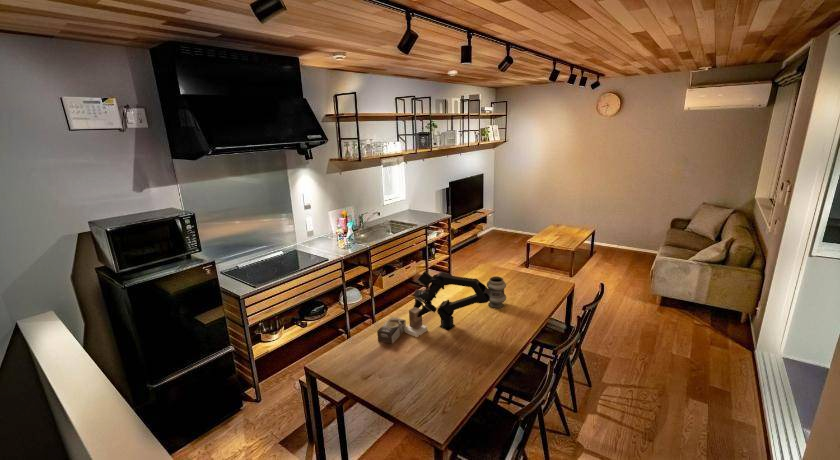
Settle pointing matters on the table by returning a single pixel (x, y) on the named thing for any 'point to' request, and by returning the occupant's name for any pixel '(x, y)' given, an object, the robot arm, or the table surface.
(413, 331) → the base plinth
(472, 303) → the robot arm
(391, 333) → the coffee box
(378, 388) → the table surface
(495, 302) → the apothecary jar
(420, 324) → the walnut block
